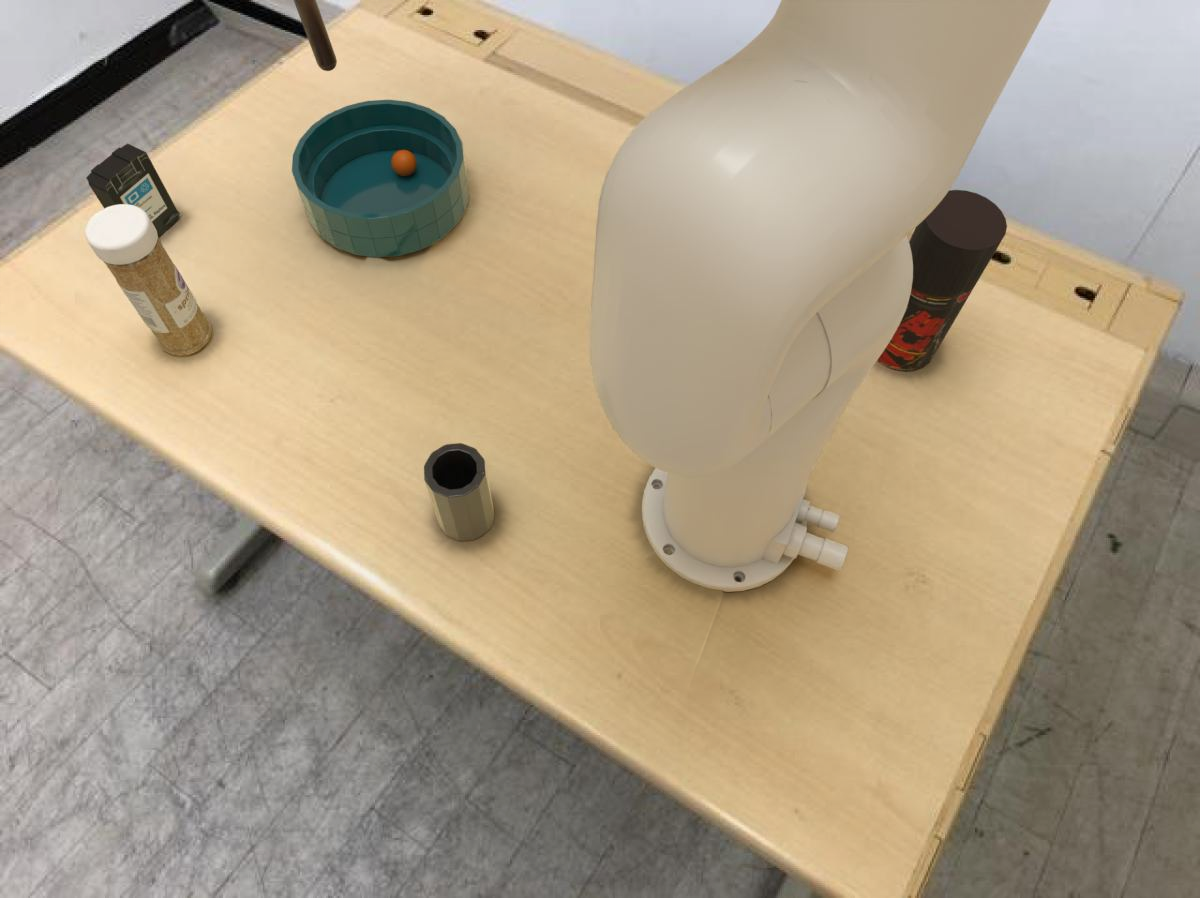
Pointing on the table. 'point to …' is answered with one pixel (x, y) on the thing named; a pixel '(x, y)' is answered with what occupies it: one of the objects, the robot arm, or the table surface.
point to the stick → (316, 33)
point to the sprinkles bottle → (148, 277)
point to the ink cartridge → (133, 186)
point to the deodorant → (944, 274)
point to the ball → (404, 163)
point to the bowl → (381, 178)
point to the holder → (459, 491)
